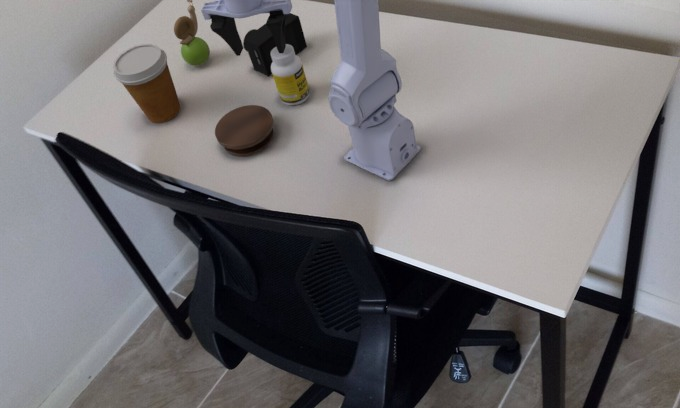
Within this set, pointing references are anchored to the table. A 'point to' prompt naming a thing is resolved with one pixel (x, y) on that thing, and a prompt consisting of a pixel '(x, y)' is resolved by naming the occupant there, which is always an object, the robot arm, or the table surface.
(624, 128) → the table surface
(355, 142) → the robot arm
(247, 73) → the table surface
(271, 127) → the stand
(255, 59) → the digital camera
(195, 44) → the snail figurine
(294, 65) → the supplement bottle
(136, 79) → the disposable coffee cup
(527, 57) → the table surface
